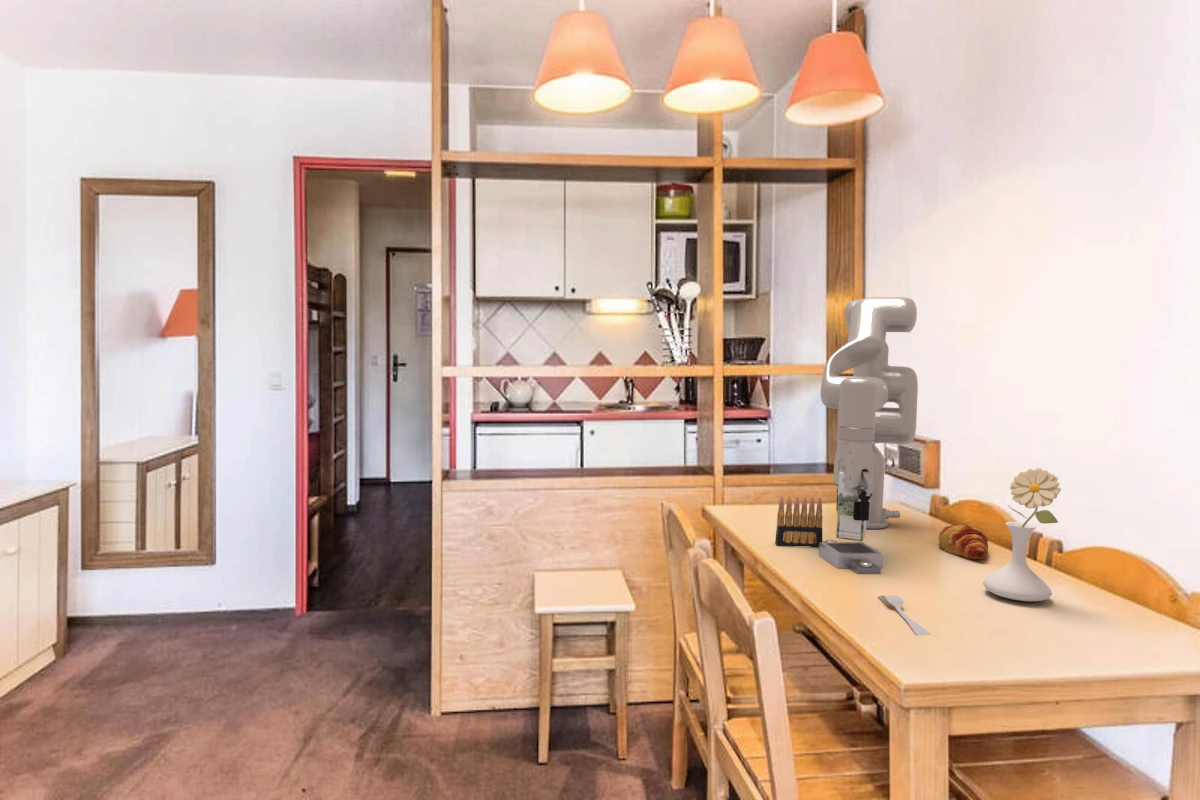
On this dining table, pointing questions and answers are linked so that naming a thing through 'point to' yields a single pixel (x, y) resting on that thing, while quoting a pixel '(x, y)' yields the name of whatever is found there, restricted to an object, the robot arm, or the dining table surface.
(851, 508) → the syrup box
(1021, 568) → the flower in vase
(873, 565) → the bolted metal bracket
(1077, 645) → the dining table surface
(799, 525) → the ammunition clip
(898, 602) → the fork
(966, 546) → the croissant
